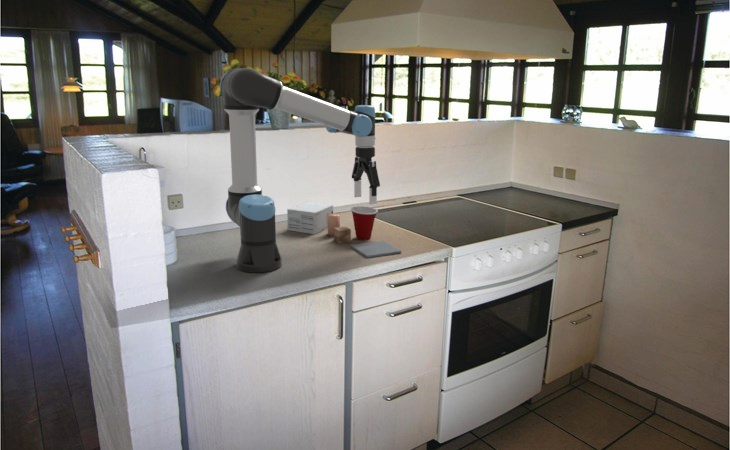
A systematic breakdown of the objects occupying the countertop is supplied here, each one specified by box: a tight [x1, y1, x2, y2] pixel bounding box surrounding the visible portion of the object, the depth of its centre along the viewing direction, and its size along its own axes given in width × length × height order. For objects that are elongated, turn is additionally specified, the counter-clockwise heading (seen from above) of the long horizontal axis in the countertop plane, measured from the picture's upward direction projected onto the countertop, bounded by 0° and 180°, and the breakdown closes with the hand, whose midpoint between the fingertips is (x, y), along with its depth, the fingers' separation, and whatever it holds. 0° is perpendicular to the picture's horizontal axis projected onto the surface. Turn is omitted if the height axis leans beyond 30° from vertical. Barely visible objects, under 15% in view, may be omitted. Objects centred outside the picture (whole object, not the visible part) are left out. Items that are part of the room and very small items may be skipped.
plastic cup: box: [350, 205, 379, 241], centre depth 219 cm, size 11×11×12 cm
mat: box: [350, 240, 402, 259], centre depth 205 cm, size 14×14×1 cm
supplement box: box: [286, 201, 334, 235], centre depth 233 cm, size 17×13×9 cm
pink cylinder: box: [327, 213, 341, 237], centre depth 224 cm, size 5×5×8 cm
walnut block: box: [333, 226, 352, 244], centre depth 216 cm, size 5×5×5 cm
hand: (365, 200), depth 216 cm, fingers open, 13 cm apart
